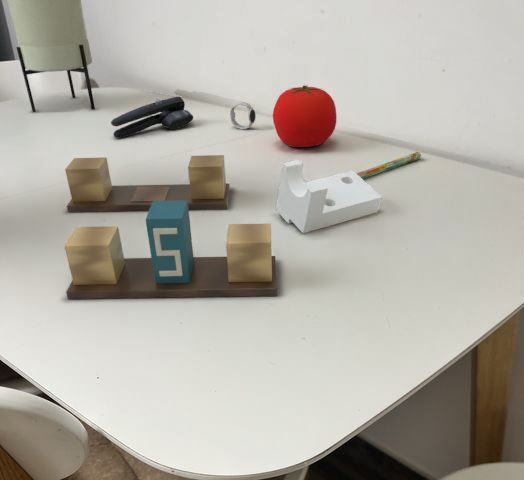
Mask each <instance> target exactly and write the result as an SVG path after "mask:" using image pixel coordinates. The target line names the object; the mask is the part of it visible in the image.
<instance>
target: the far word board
mask: <svg viewBox="0 0 524 480" xmlns="http://www.w3.org/2000/svg"><path fill="white" fill-rule="evenodd" d="M107 158H108V157H106V156H105V157H73V159H72V160H71V161H70V163H69V164H68V165H67V166H66V168H65V169H64V171H65V175H66V180H67V183H68V188H69V192H70V196H71V197H70V198H71V199H70V200H69V202H68V203H67V205H66V209H67V213H87V212H91V213H92V212H93V213H94V212H96V213H97V212H144V211H145V212H146V211H148V212H149V209H150V207H151V204H152V202H153V201H181V200H187V201H188V209H189V211H197V210H199V211H200V210H202V211H204V210H205V211H206V210H228V205H229V200H230V199H229V198H230V191H231V186H230V183H227V182H226V179H227V178H226V163H225V155H224V154H211V155H209V154H208V155H206V154H205V155H191V156H190V159H189V162H188V165H187V172H188V181H189V183H183V184H181V183H179V184H174V183H173V184H132V185H131V184H128V185H122V184H121V185H112V179H111V174H110V168H109V163H108V159H107Z"/></svg>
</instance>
